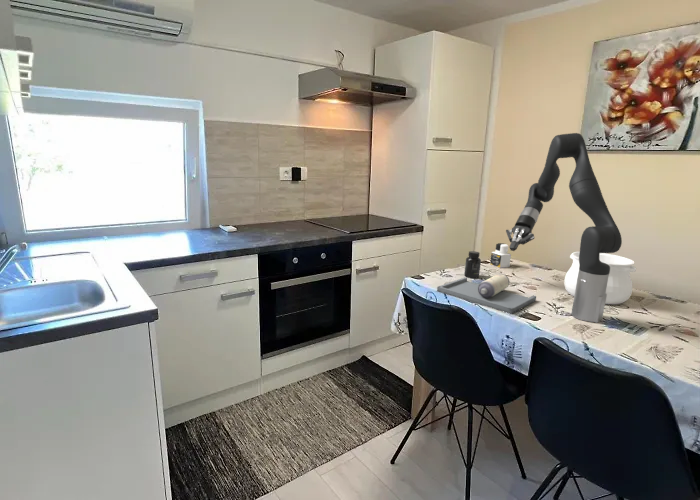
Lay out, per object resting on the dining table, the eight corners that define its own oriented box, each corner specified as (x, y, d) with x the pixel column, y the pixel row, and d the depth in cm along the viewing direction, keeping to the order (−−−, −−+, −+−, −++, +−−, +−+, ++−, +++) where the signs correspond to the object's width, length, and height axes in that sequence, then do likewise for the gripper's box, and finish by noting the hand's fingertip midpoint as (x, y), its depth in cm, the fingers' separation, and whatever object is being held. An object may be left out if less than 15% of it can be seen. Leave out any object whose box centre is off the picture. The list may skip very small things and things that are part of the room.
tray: (535, 300, 161) (536, 296, 160) (511, 314, 146) (512, 308, 145) (464, 281, 183) (464, 277, 183) (436, 291, 168) (437, 286, 167)
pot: (548, 290, 175) (554, 253, 171) (583, 284, 186) (590, 248, 182) (608, 310, 153) (616, 268, 149) (643, 302, 164) (652, 262, 160)
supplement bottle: (480, 276, 192) (483, 252, 189) (476, 279, 187) (479, 254, 184) (466, 273, 196) (469, 249, 193) (462, 276, 190) (464, 252, 188)
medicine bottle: (489, 264, 215) (492, 242, 212) (499, 263, 218) (502, 242, 215) (499, 268, 208) (502, 245, 206) (509, 267, 211) (512, 244, 209)
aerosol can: (490, 278, 175) (471, 288, 160) (502, 270, 171) (484, 280, 156) (499, 291, 173) (481, 303, 158) (512, 283, 169) (494, 295, 154)
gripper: (511, 212, 183) (495, 241, 177) (541, 216, 173) (525, 247, 168) (514, 222, 187) (499, 251, 182) (543, 227, 178) (528, 257, 173)
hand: (512, 249), depth 175 cm, fingers closed
